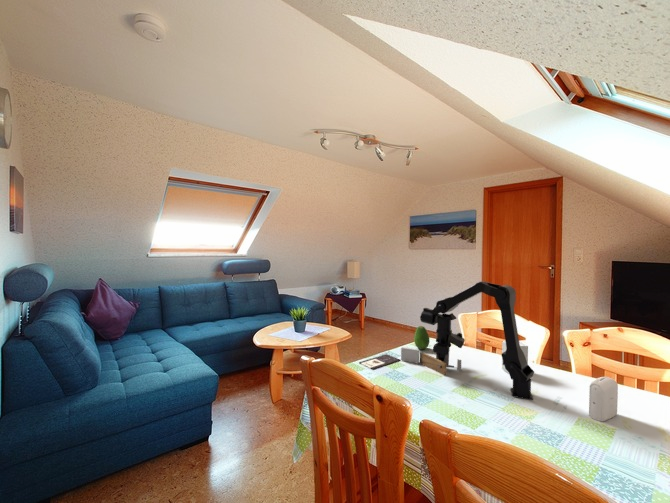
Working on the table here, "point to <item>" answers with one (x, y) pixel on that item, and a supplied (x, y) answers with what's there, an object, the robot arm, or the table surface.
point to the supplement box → (523, 348)
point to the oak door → (433, 363)
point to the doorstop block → (445, 359)
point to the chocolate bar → (379, 361)
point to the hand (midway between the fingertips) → (442, 362)
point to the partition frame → (413, 356)
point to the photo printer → (603, 398)
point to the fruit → (421, 338)
